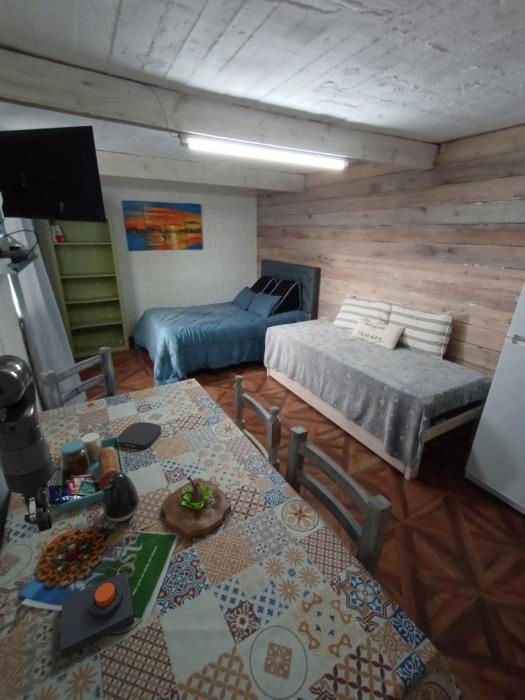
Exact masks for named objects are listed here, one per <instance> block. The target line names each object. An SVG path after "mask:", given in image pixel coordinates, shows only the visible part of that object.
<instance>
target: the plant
mask: <svg viewBox="0 0 525 700" xmlns="http://www.w3.org/2000/svg"><path fill="white" fill-rule="evenodd" d="M186 480H187V481H188V482H187V483H185V484H183V485H181V486H180V487H179V488H177V489H175V490H174V491H173V492H172V493H170V494H168V495H167V497H166V498H165V499H164V501H163V502H162V506H161V507H160V514H161V515H162V516H164V523H165V525H166V527H168V528H170V529H171V530H173V531H174V532H176V533H177V534H179V535H180V536H182V537H183V538H185V539H187V540H190V539H192V538H194V537H198V536H204V535H206V534H208V533H211V532H212V531H213V530H214V529H216V528H217V527H219V526H220V525H221V524H222V523H223V520H224V518H225V517H226V516H227V515H228V514H229V513H230V512H231V511H232V505H231V502H230V500H229V499H228V497H227V496H226V494H225V492H224V491H223V490H222V489H220V488H219V484H216V483H214V482H213V481H212V480H211V479H210V480H203V478H194V479H192V477H191V476H189V475H188V476H187V477H186Z"/></svg>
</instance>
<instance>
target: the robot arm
mask: <svg viewBox="0 0 525 700" xmlns="http://www.w3.org/2000/svg"><path fill="white" fill-rule="evenodd" d="M35 383H36V382H35V377H34V371H33V370H32V367H31V366H30V364H29V363H28V362H27V361H26V360H25V359H23V358H22V357H19V356H17V355H12V354H2V355H0V470H1V473H2V475H3V478H4V481H5V485H6V488H7V489H8V491H9V492H11V493H14V494H20V495H21V496H20V497H21V502H22V504H23V505H24V506H25V509H26V511H27V513H26V514H25V515H24V517H23V520H24V522H25V523H27V524H29V525H31V526H34V525H37V528H38V531H39V533H43V532H45V531H48V530H50V529H52V528H53V518H52V514H51V511H50V510H51V505H50V501H51V494H50V489H49V481H51V479H52V478H53V477H54V475H55V472H56V471H55V466H54V463H53V462H54V461H53V458H52V454H51V451H50V447H49V443H48V440H47V438H46V436H45V433H44V430H43V425H42V423H41V418H40V415H39V413H38V408H37V407H38V406H37V391H36V384H35Z"/></svg>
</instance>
